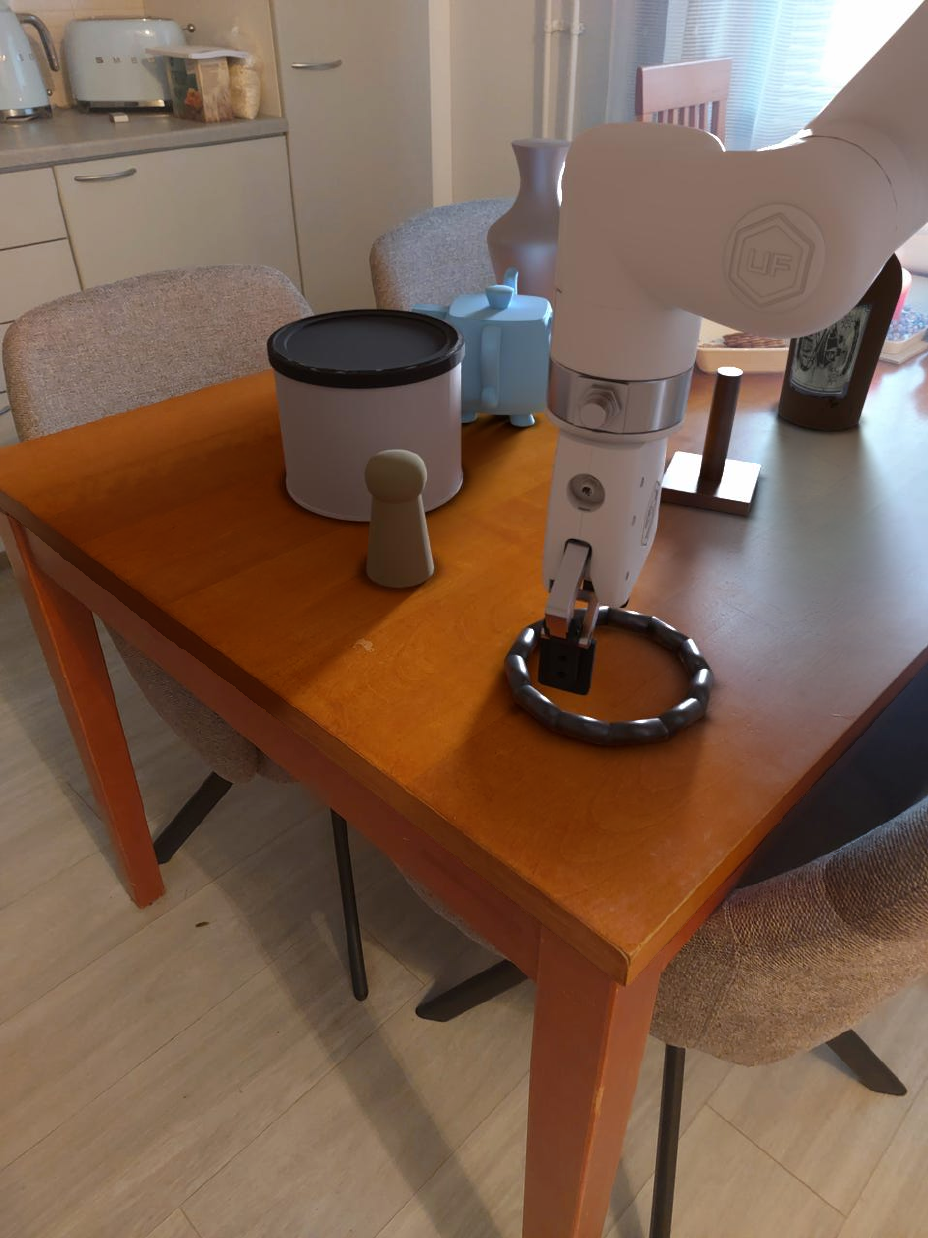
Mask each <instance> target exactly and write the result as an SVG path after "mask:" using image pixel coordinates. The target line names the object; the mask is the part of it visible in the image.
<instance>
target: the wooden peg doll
mask: <svg viewBox="0 0 928 1238" xmlns="http://www.w3.org/2000/svg"><path fill="white" fill-rule="evenodd" d="M364 476H365V482H366V486H367V488H368V491H369V492H370V493H371V494H372V506H371V518H370V521H369V532H368V545H367V546H368V548H367V560H366V574H367V577H368V578H369V579H370V580H371V581H372V582H373V583H376V584H377V585H379V586H384V587H386V588H393V589H394V588H396V589H403V588H411V587H414V586H418V585H420V584H422V583H424V582H426V581H427V580H429V579H430V578H431V576H432V575H433V574H434V570H435V566H434V559H433V554H432V548H431V543H430V535H429V531H428V526H427V518H426V514H425V513H426V512H425V513H424V508H423V502H422V496H421V493H422V491H423V490H424V488H425V484H426V480H427V470H426V467H425V464H424V462H423V461H422V459H421V458H420V457H419V456H418V455H417V454H414V453H412V452H409V451H406V450H396V449H395V450H387V451H383V452H380V453H378V454H376V455H374V456H373V457H371V458H370V460H369V461H368V463H367V465H366V468H365V473H364Z"/></svg>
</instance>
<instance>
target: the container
mask: <svg viewBox="0 0 928 1238" xmlns="http://www.w3.org/2000/svg"><path fill="white" fill-rule="evenodd" d="M266 351H267V360H268V363H269V365H270V367H271V368H272V370H273V376H274V385H275V393H276V399H277V400H276V401H277V409H278V416H279V423H280V424H279V425H280V433H281V439H282V448H283V456H284V463H285V464H284V465H285V470H286V471H285V472H286V478H285V483H286V489H287V493H288V495H289V496H290V497H291V499H293V501H294V502H295V503H297V504H298V505H299V506H300V507H302V508H303V509H306V510H308V511H309V512H312V513H315V514H317V515H319V516H323V517H326V518H330V519H331V518H332V519H336V520H341V521H346V522H347V521H348V522H349V521H350V522H370V518H371V506H372V494H371V493H370V492H369V491H368V488H367V486H366V482H365V476H364V473H365V468H366V465H367V463H368V461H369V460H370V458H371V457H373V456H374V455H376V454H378V453H380V452H383V451H387V450H395V449H396V450H406V451H409V452H412V453H414V454H417V455H418V456H419V457H420V458H421V459H422V461H423V462H424V464H425V467H426V470H427V480H426V484H425V488H424V490H423V491H422V493H421V496H422V502H423V508H424V513H427V512H429V511H430V512H431V511H433V510H434V509H437V508H439V507H441V506H442V505H444V504H446V503H447V502H449V501H450V500H451V499H453V498H454V496H455V495H456V494H457V493H458V492H459V490H460V489H461V487H462V484H463V480H464V479H463V478H464V472H463V468H462V423H461V361H462V360H463V358H464V355H465V337H464V334H463V332H462V331H461V330H460V329H459V328H458V327H457V326H455V325H454V324H452V323H450V322H448V321H446V320H443V319H441V318H438V317H434V316H431V315H427V314H422V313H417V312H411V311H409V310H402V309H401V310H400V309H392V308H391V309H389V308H359V309H357V308H356V309H355V308H354V309H344V310H343V309H342V310H336V311H335V310H334V311H330V312H323V313H319V314H315V315H310V316H307V317H303V318H299V319H297V320H294V321H292V322H289V323H286V324H284V325H283V326H280V327H279V328H277V329H276V330H275V331H273V332H272V333H271V334H270V335H269V337H268V338H267V341H266Z"/></svg>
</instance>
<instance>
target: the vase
mask: <svg viewBox="0 0 928 1238" xmlns="http://www.w3.org/2000/svg"><path fill="white" fill-rule="evenodd" d="M572 142H573V141H569V140H566V139H561V138H560V139H558V138H546V137H545V138H544V137H543V138H542V137H540V138H537V137H536V138H523V139H515V140H513V141H511V143H510V145H511V148H512V150H513V153H514V156H515V159H516V164H517V168H518V173H519V180H520V181H519V190H518V194H517V196H516V198H515V201H514V202H513V204H512V205H511V207H510V208H509V209H508V210H507V211H506V212H505V213H504V214H502V215H501V216H500V217H498V218H497V219H496V220H495V221H494V222H493V223H492V224H491V225H490V227H489V229H488V231H487V234H486V245H487V250H488V254H489V259H490V263H491V267H492V271H493V275H494V279H495V282H496V285H502V283H503V277H504V273H505V272H506V270H507V269H508V268H511V267H513V268H516V269H517V272H518V275H517V295H528V296H536V297H542V298H545V299H547V300H548V301H549V303H550V306H551V309H552V311H553V298H554V285H555V272H556V259H557V246H558V233H559V220H560V207H561V194H562V187H561V186H562V178H563V173H564V165H565V159H566V155H567V152H568V150H569V148H570V146H571V143H572Z"/></svg>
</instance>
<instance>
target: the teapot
mask: <svg viewBox="0 0 928 1238" xmlns="http://www.w3.org/2000/svg"><path fill="white" fill-rule="evenodd" d="M517 275H518V272H517V269H516V268H513V267H511V268H508V269H507V270H506V272H505V273H504V277H503V283H502V285H497V284H496V285H491V286H488V287H486V288H485V290H484V292H485V293H484V292H483V293H481V292H479V293H477V292H476V293H463V294H459V295H458V296H457V297H456V298H454V299H453V301H452V302H451V304H450V305H449V306H448V305H447V306H446V305H438V304H428V303H414V305H413V306H412V308H411V311H410V312H417V313H422V314H427V315H431V316H434V317H438V318H441V319H443V320H446V321H448V322H450V323H452V324H454V325H455V326H457V327H458V328H459V329H460V330H461V331H462V332H463V334H464V337H465V355H464V358H463V360H462V361H461V424H462V423H463V424H465V423H467V424H468V423H472V422H474V421H476V419H477V416H478V414H482V415H495V416H498V415H499V416H509V422H510V424H511V425H513V426H516V427H530V426H532V425H534V424H535V419H534V417H533V415H536V414H537V415H538V414H542V413H545V402H546V390H547V377H548V364H549V351H550V338H551V324H552V309H551V306H550V303H549V301H548V300H547V299H545V298H542V297H536V296H528V295H517Z"/></svg>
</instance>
